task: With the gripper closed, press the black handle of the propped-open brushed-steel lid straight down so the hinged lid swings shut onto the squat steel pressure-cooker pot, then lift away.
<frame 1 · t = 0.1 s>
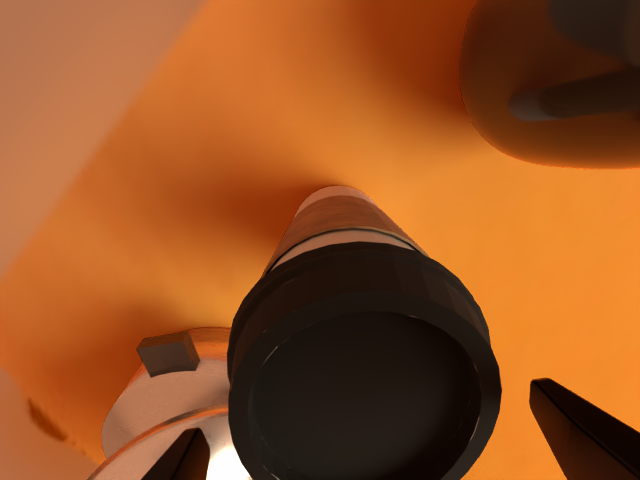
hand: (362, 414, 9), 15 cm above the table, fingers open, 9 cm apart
coffee cup: (337, 227, 23), on the table
pot: (222, 396, 28), on the table
pump dispenser: (523, 58, 19), on the table
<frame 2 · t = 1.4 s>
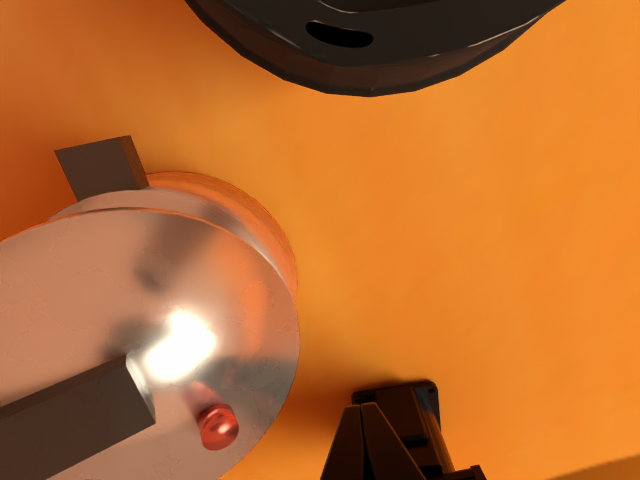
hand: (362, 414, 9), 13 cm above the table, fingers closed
coffee cup: (337, 9, 17), on the table
lid: (127, 389, 13), point 10 cm above the table, hinge at 28.0°
pot: (191, 277, 22), on the table
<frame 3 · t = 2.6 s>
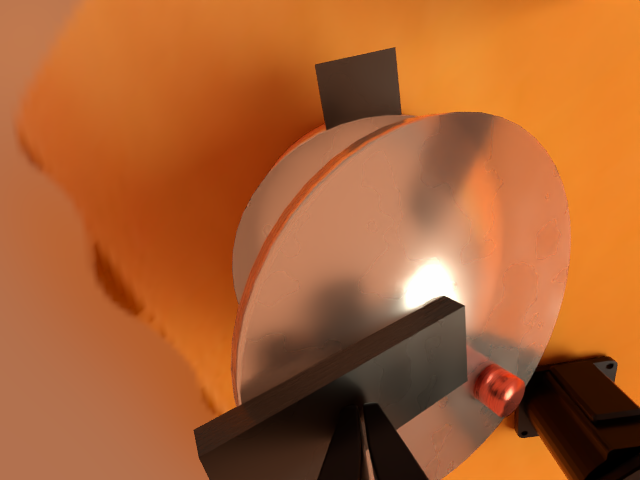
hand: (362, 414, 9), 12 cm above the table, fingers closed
lid: (435, 339, 11), point 9 cm above the table, hinge at 27.7°, touching gripper
pot: (370, 237, 20), on the table
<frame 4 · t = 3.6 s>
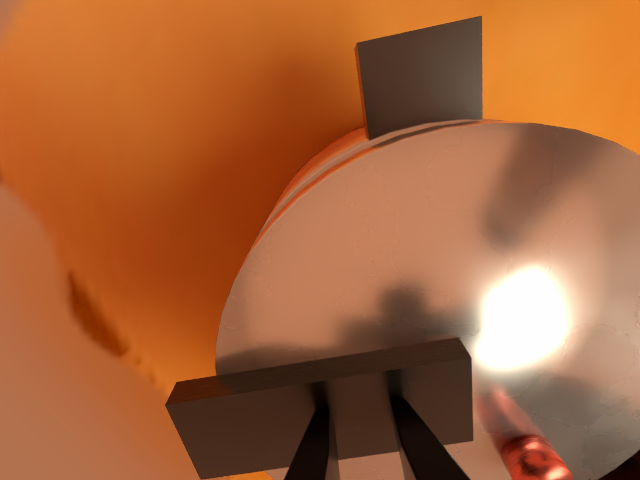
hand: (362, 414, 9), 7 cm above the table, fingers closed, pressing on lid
lid: (443, 381, 10), point 6 cm above the table, hinge at 3.0°, touching gripper
pot: (410, 274, 16), on the table
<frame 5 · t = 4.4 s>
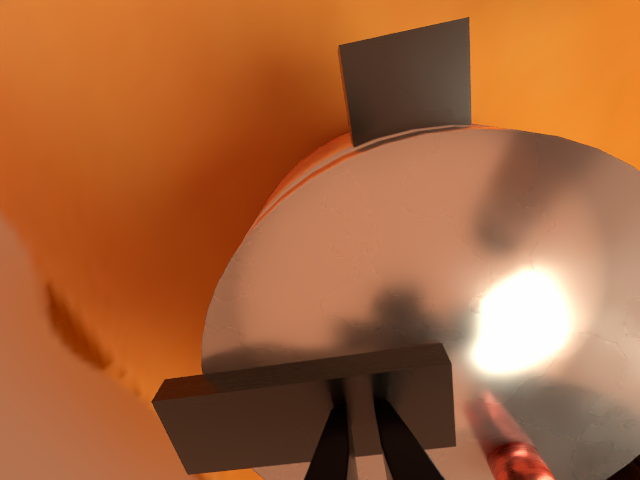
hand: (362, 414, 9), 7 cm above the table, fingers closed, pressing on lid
lid: (426, 386, 10), point 6 cm above the table, hinge at -0.3°, touching gripper
pot: (401, 281, 15), on the table
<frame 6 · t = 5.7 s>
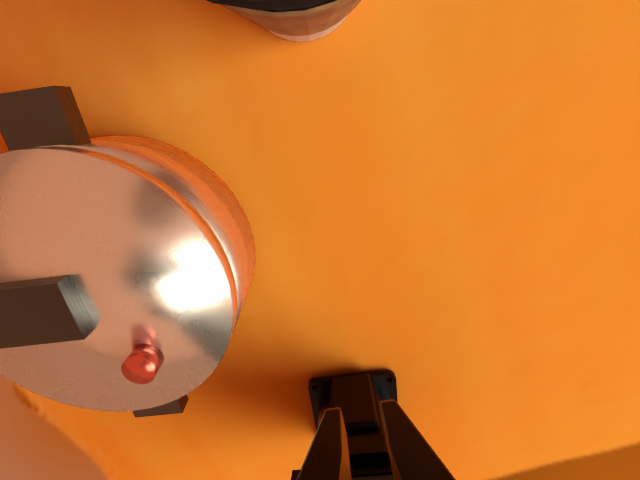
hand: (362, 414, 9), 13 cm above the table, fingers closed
lid: (72, 303, 16), point 6 cm above the table, hinge at -0.3°
pot: (144, 249, 21), on the table
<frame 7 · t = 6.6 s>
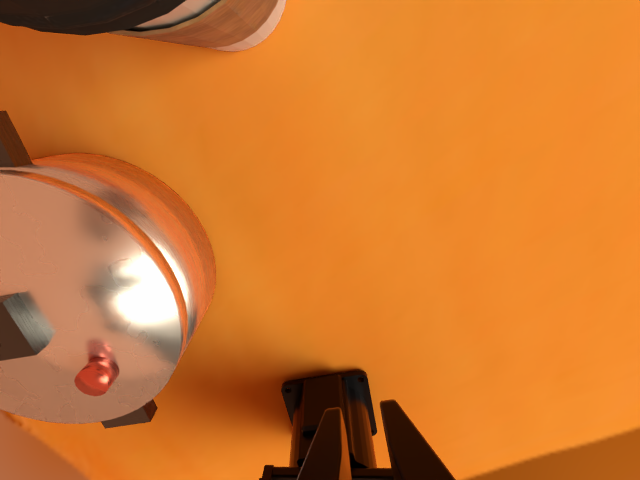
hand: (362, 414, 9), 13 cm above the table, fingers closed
lid: (24, 320, 16), point 6 cm above the table, hinge at -0.3°
pot: (107, 263, 22), on the table
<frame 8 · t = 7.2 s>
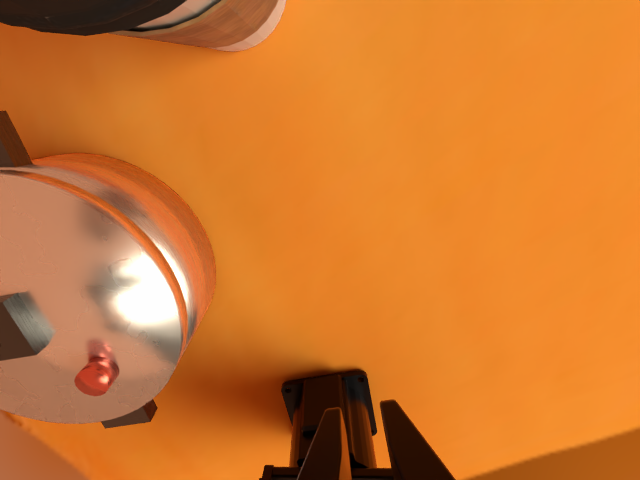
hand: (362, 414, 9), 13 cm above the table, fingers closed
lid: (24, 320, 16), point 6 cm above the table, hinge at -0.3°
pot: (107, 263, 22), on the table
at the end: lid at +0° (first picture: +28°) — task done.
